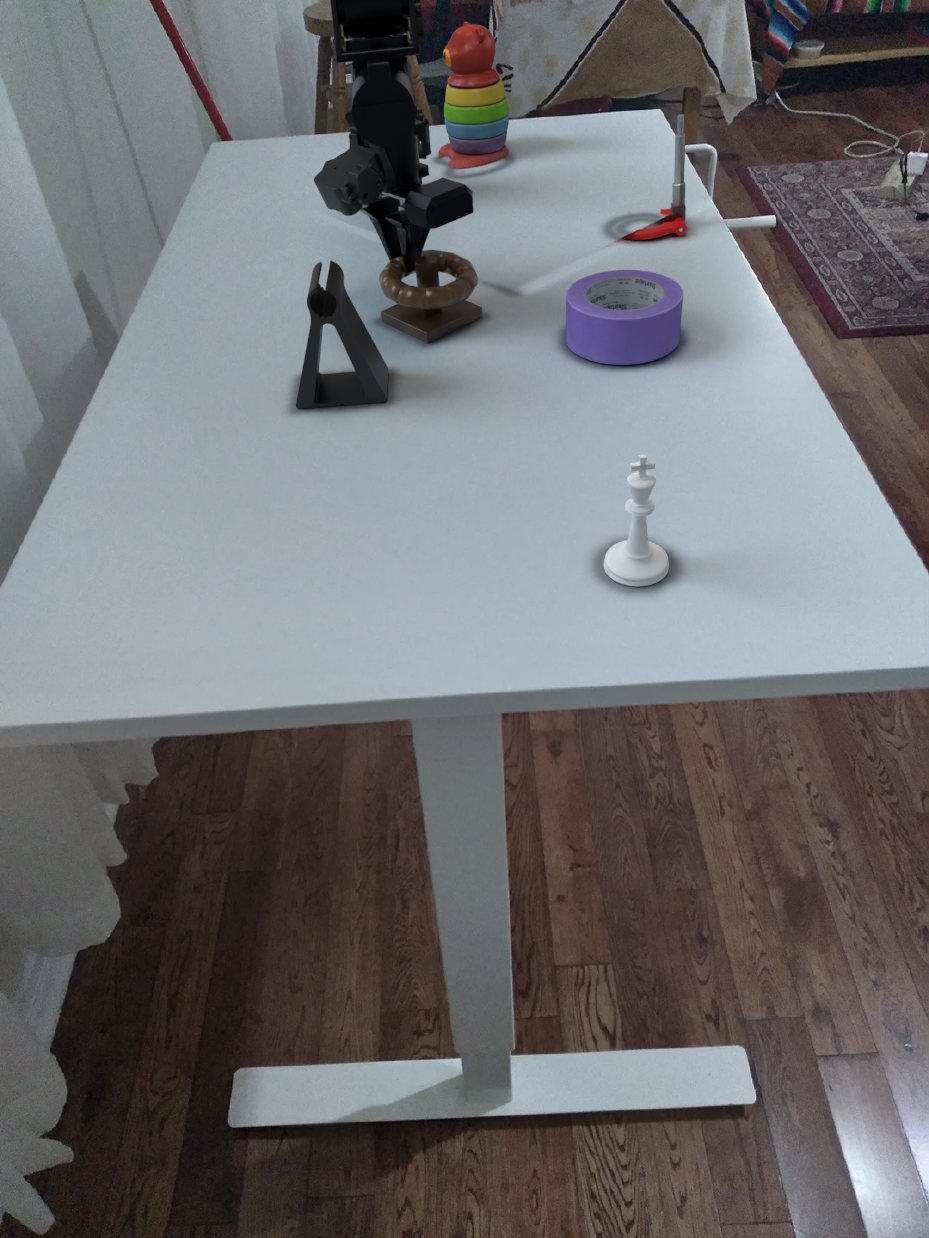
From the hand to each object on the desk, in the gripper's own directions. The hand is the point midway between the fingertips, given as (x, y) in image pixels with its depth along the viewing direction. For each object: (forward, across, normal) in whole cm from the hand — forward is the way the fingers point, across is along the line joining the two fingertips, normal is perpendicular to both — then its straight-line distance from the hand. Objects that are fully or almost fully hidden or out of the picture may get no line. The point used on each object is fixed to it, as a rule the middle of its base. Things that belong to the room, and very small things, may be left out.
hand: (403, 268), depth 106 cm
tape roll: (+5, +23, +10) cm, 26 cm away
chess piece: (+5, +48, -17) cm, 51 cm away
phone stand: (+5, +9, -16) cm, 19 cm away
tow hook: (+5, +6, +34) cm, 35 cm away
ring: (0, +4, 0) cm, 4 cm away
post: (+5, +4, 0) cm, 6 cm away
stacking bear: (+5, -30, +38) cm, 49 cm away
